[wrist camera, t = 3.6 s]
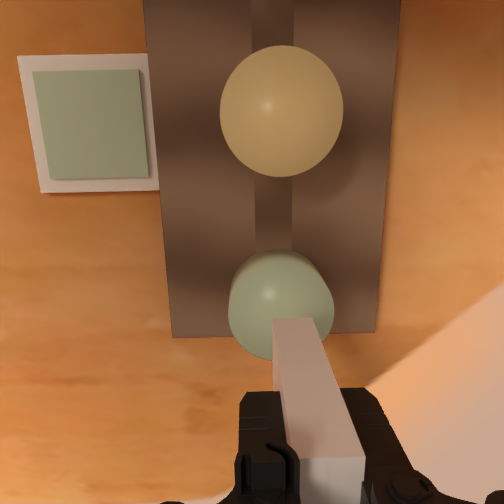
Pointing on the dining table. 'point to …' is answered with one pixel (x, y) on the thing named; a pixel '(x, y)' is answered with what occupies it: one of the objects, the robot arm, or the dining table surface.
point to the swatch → (90, 121)
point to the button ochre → (281, 111)
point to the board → (259, 185)
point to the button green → (276, 298)
